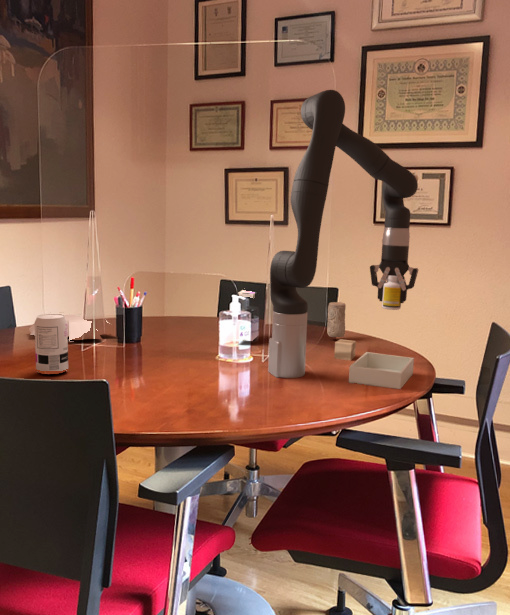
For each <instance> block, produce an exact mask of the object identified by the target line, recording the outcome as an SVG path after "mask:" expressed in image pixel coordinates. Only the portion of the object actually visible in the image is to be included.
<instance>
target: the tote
mask: <svg viewBox="0 0 510 615" xmlns="http://www.w3.org/2000/svg"><path fill="white" fill-rule="evenodd" d="M414 362H415V357H408V356H401V355H396V354H395V355H393V354H384V353H377V352H371V351H370V352H369V351H366V352H364V353H363V354H362V355H361V356H360V357H359V358H358V359H356V360H354V362H352V363H351V365H349V370H348V373H349V374H348V383H349V384H354V383H357V385H362V384H364V385H363V386H373V387H378V388H386V389H395V390H401V389H402V388H403V386H404V385H405V384H406V383H408V381H409V379H410V378H411V377H412V376H413V374H414V364H415V363H414Z"/></svg>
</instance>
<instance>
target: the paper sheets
mask: <svg viewBox="0 0 510 615" xmlns="http://www.w3.org/2000/svg"><path fill="white" fill-rule="evenodd" d="M76 315H77V314H69V315H65V318H66V320H67V334H68V336H69V339H68V342H71V341H70V340H72V339H75V338H79V337H81V336H82V335H83V334H84V333H87V332H88V331H90V328H91V323H92V321H87V320H84V319H83V315H82V316H76ZM106 322H107V323H109V324H111V323H110V322H108V320H106ZM96 330H97V329H96ZM28 331H29V332H30V334H29V336H30V335H34V336H35V324H34V323H33V324H32V325H31V326H30V327H29V328H28ZM97 331H98V330H97Z"/></svg>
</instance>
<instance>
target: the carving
mask: <svg viewBox="0 0 510 615" xmlns="http://www.w3.org/2000/svg"><path fill="white" fill-rule="evenodd" d="M346 306H347V305H346V303H345V302H342V301H341V302H340V301H339V302H337V301H332V302H329V303H328V306H327V327H326V330H327V331H326V332H327V335H328V337H332V338H342V337H345V334H346Z"/></svg>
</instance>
